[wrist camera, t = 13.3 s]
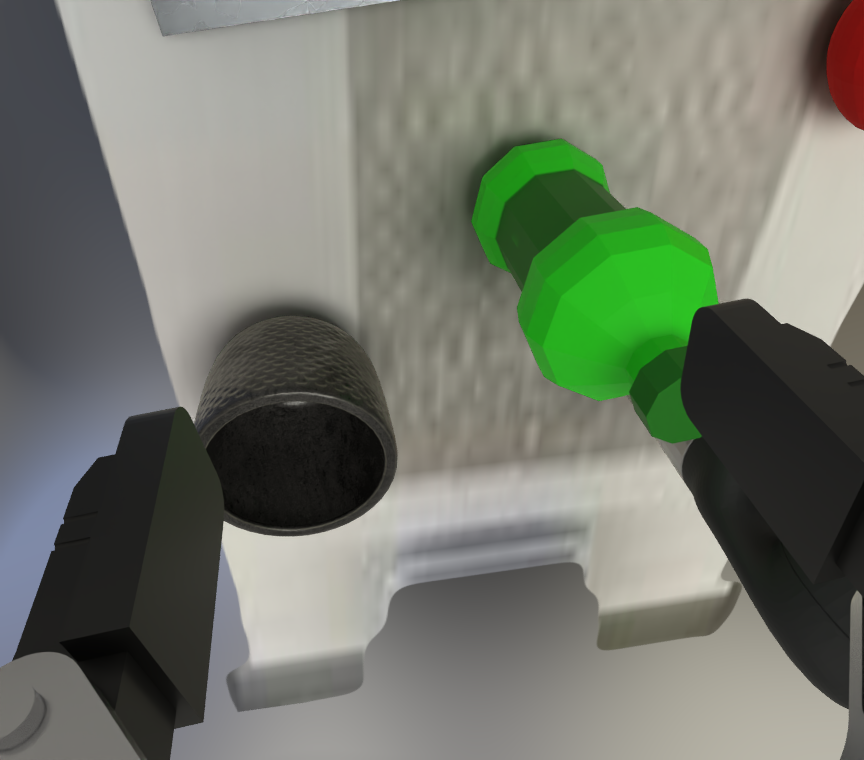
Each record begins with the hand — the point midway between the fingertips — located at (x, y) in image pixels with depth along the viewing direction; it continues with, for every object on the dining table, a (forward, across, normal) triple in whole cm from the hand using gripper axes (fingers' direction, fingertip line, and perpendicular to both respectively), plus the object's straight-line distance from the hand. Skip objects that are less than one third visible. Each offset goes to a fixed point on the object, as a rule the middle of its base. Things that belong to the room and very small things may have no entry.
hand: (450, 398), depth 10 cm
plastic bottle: (+36, -12, +13) cm, 40 cm away
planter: (+36, +8, +24) cm, 44 cm away
